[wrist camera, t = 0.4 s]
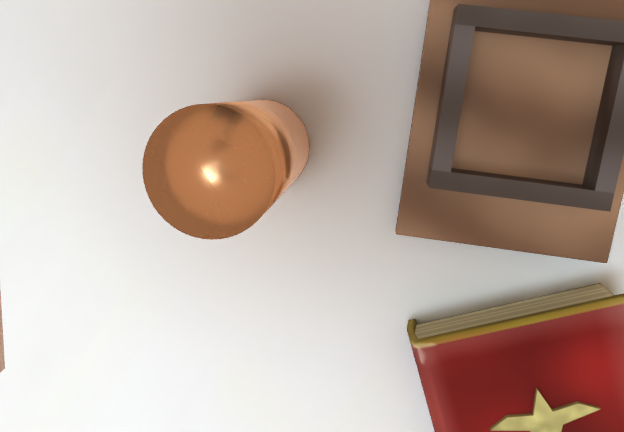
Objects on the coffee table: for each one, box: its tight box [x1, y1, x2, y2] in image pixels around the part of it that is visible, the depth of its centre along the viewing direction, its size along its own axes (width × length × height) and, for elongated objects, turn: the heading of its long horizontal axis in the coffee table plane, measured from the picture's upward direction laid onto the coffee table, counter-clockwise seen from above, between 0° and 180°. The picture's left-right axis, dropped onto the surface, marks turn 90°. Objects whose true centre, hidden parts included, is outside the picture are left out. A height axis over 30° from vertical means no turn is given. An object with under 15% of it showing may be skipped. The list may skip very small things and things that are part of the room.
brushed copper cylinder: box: [143, 100, 309, 239], centre depth 30 cm, size 6×6×12 cm
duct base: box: [396, 0, 624, 263], centre depth 32 cm, size 16×12×3 cm
